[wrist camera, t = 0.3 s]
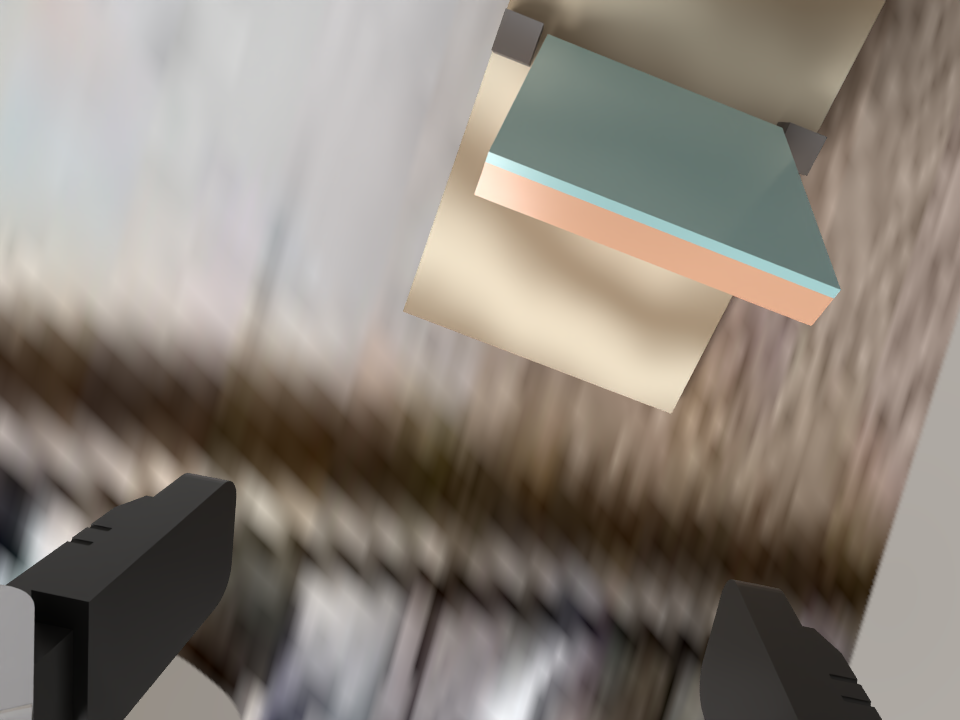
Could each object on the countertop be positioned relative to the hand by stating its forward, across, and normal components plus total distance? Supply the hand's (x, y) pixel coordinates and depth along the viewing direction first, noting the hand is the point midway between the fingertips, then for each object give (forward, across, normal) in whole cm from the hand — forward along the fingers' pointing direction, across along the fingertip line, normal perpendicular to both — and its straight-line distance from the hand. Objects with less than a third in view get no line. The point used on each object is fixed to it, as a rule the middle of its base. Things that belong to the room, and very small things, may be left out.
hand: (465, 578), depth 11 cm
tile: (+16, -3, -8) cm, 18 cm away
